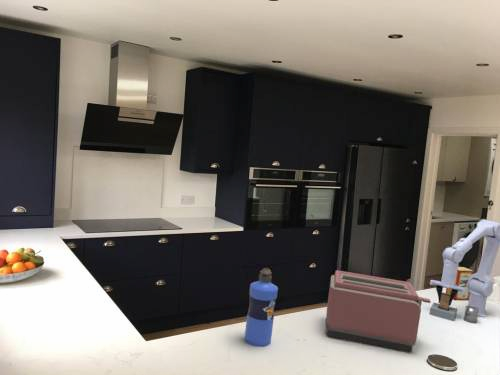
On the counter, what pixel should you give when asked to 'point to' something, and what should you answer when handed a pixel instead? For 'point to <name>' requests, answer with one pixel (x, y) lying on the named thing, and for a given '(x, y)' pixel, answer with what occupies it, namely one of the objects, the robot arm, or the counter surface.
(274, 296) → the water bottle
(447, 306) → the square peg
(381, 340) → the toaster
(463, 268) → the baking soda box
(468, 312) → the round peg
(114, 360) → the counter surface
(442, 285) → the robot arm
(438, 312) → the socket block
